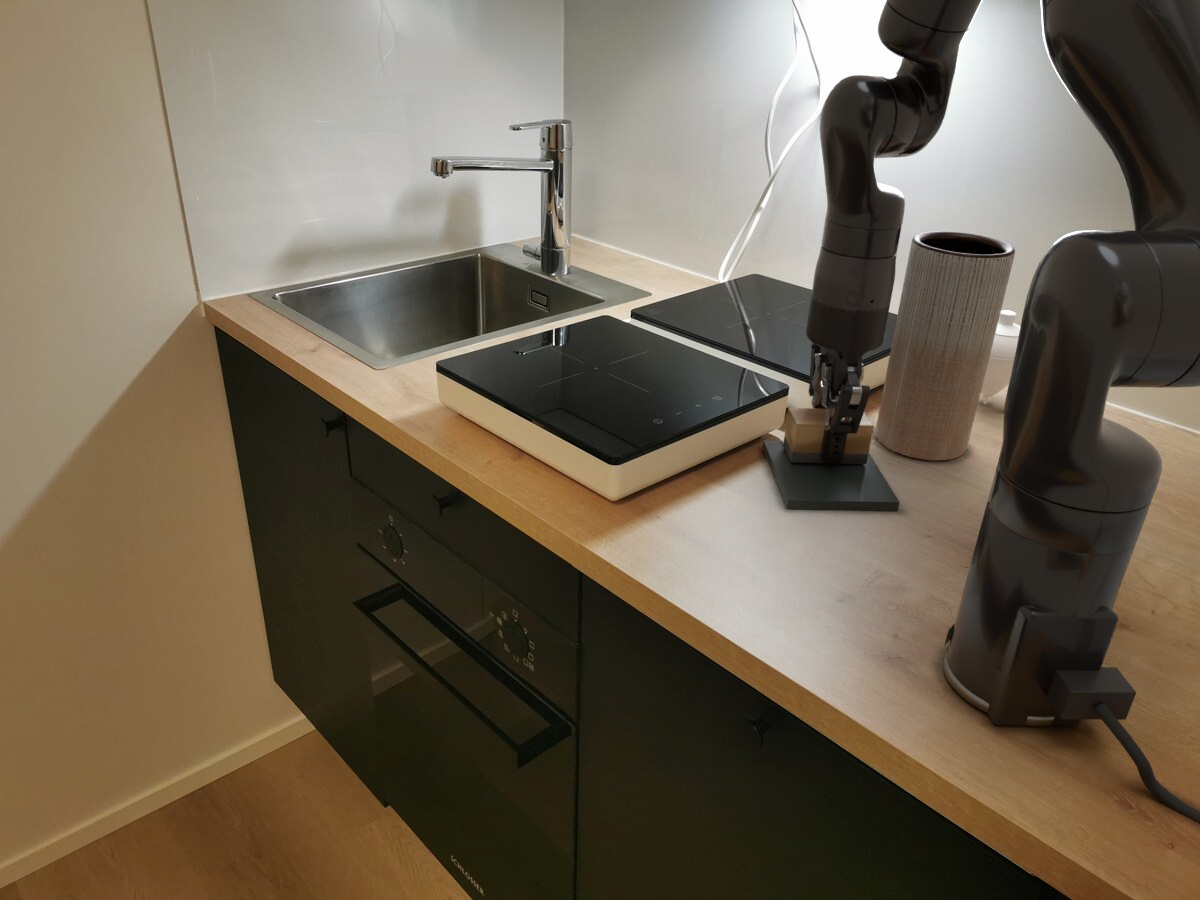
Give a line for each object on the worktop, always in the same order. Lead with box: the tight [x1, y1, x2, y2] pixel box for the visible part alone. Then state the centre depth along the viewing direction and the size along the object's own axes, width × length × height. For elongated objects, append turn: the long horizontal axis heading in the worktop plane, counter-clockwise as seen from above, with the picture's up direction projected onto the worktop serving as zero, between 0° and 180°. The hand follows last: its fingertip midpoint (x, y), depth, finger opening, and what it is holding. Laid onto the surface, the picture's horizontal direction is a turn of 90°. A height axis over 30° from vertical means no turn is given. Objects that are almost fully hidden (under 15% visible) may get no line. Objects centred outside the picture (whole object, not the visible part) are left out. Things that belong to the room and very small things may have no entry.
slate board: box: [762, 440, 900, 512], centre depth 94 cm, size 13×11×1 cm
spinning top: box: [981, 309, 1021, 405], centre depth 110 cm, size 8×8×12 cm
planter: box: [875, 230, 1016, 462], centre depth 98 cm, size 10×10×23 cm
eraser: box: [783, 407, 874, 464], centre depth 95 cm, size 4×8×4 cm, turn 92°
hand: (825, 450), depth 96 cm, fingers closed on eraser, 4 cm apart
